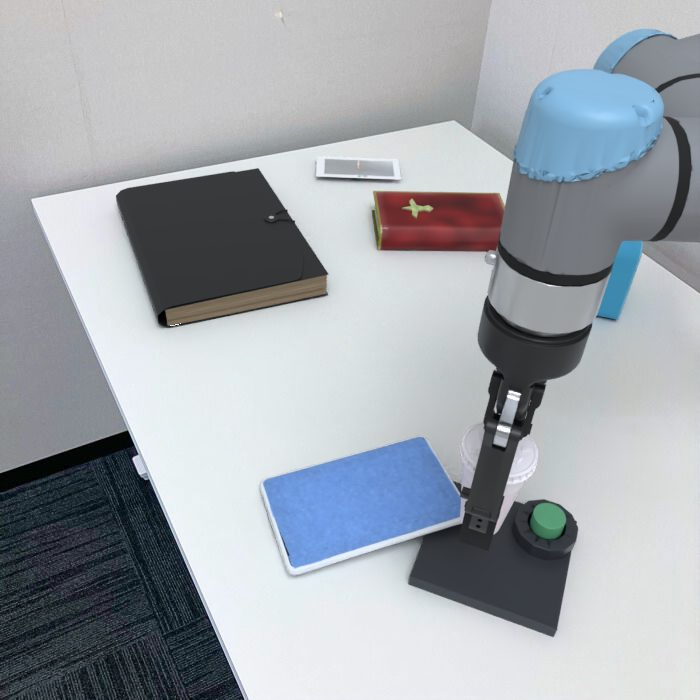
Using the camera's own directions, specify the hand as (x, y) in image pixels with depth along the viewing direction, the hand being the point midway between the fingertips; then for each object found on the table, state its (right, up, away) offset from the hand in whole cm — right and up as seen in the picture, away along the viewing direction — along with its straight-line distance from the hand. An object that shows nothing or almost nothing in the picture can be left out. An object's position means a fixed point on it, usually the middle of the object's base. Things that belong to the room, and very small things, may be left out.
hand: (483, 511), depth 67 cm
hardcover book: (+2, +33, +55) cm, 64 cm away
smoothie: (0, -1, +1) cm, 1 cm away
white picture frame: (-11, +46, +69) cm, 83 cm away
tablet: (-11, -2, +11) cm, 15 cm away
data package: (+25, +22, +43) cm, 54 cm away
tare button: (+8, -3, +8) cm, 11 cm away
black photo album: (-32, +30, +47) cm, 65 cm away
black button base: (+2, -6, +8) cm, 10 cm away
